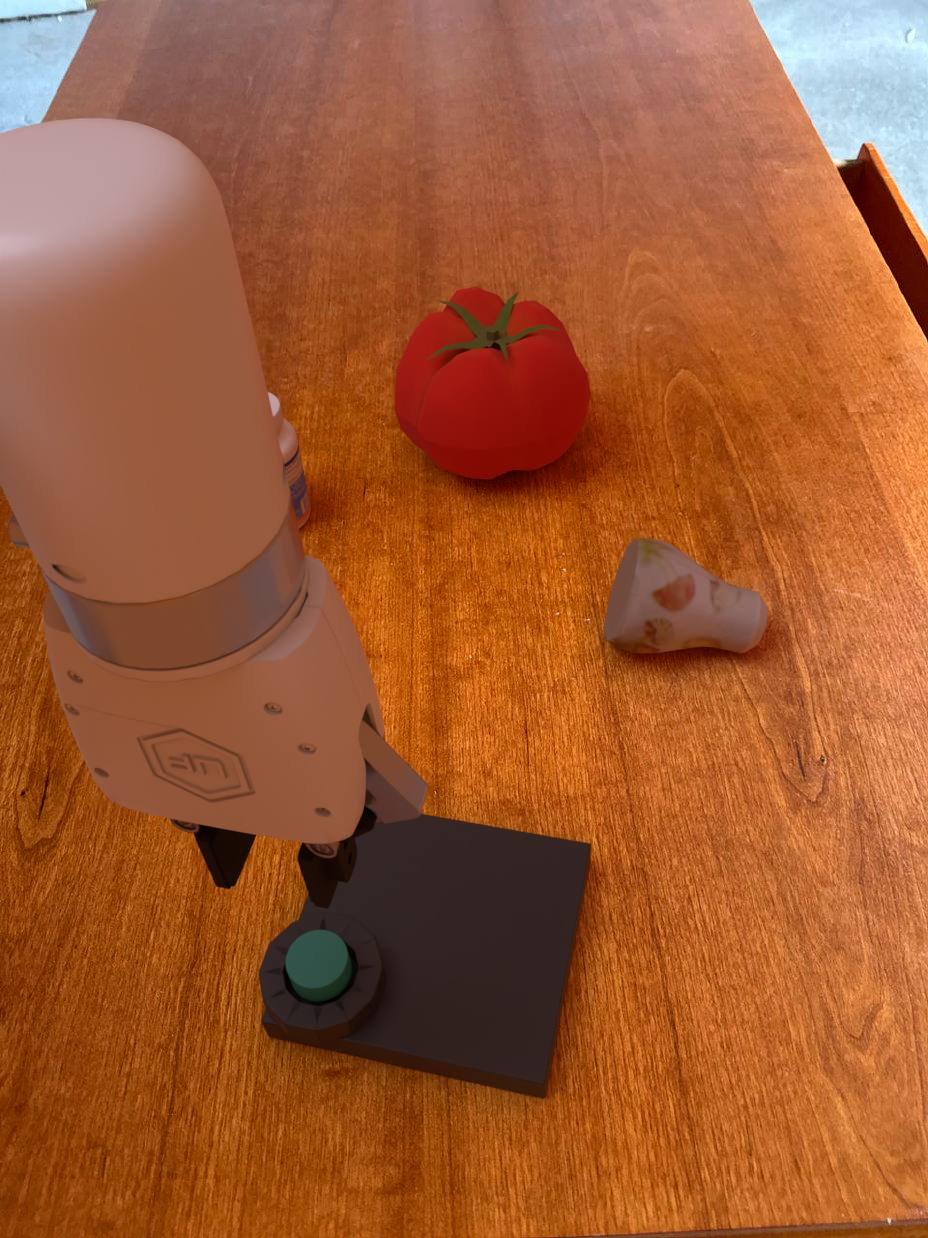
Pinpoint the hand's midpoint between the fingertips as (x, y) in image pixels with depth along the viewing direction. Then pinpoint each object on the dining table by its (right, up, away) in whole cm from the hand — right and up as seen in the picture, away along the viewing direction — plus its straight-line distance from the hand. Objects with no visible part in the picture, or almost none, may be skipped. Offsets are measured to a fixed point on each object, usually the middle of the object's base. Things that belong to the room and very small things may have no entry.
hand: (284, 865), depth 48 cm
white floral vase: (+22, +9, +25) cm, 34 cm away
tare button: (+1, -7, +7) cm, 10 cm away
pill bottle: (-6, +18, +35) cm, 40 cm away
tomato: (+10, +23, +39) cm, 46 cm away
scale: (+6, -7, +11) cm, 15 cm away
